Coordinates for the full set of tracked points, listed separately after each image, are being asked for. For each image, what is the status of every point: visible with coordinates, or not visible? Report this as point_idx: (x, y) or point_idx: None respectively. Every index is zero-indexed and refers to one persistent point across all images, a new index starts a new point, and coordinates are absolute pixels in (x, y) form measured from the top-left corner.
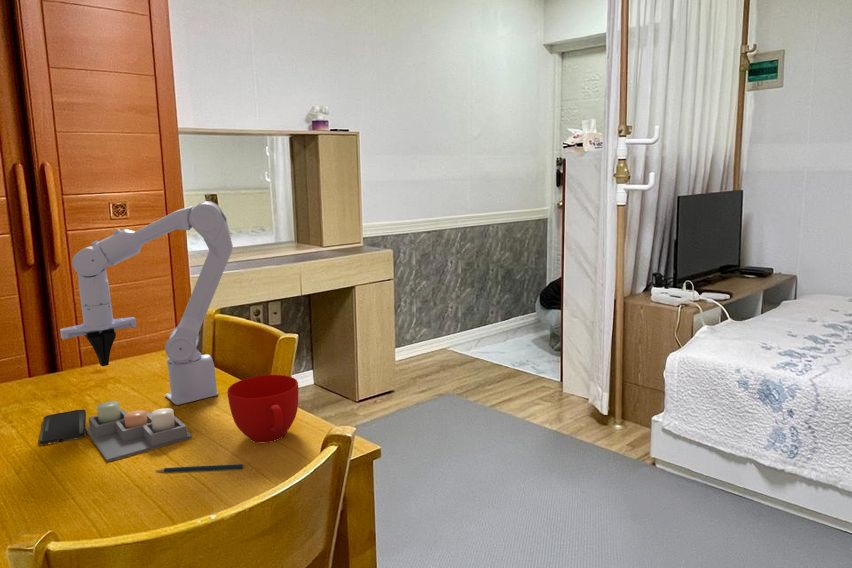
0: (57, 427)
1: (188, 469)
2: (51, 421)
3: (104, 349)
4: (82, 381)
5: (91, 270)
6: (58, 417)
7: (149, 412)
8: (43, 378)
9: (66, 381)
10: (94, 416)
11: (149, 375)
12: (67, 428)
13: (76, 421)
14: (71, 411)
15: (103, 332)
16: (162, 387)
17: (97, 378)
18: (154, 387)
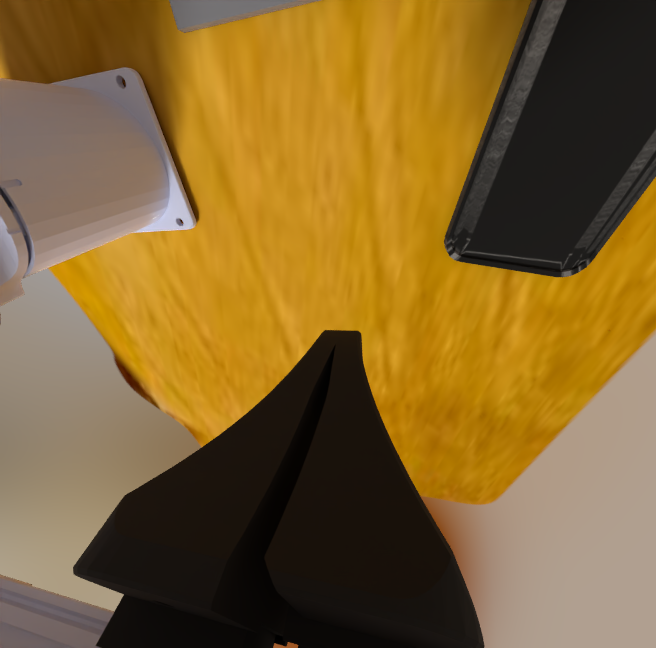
0: (639, 82)
1: None
2: (597, 200)
3: (311, 416)
4: None
5: None
6: (551, 231)
7: (231, 8)
8: (431, 491)
9: (403, 461)
10: None
11: (251, 396)
12: (622, 14)
13: (529, 120)
14: (488, 261)
15: (235, 646)
16: (217, 309)
17: None
18: (237, 322)
